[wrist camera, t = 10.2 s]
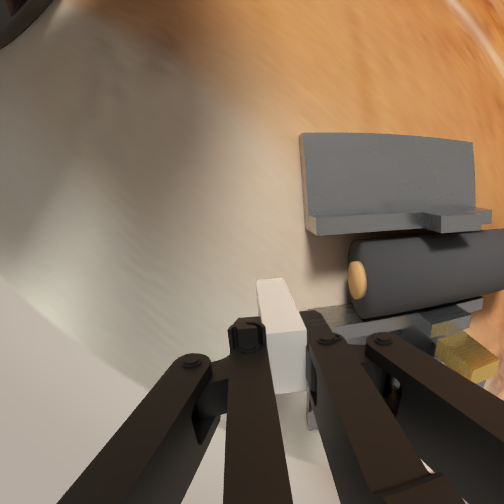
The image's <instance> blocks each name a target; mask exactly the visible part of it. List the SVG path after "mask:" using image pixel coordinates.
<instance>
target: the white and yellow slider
mask: <svg viewBox="0 0 504 504" xmlns="http://www.w3.org/2000/svg"><path fill="white" fill-rule="evenodd" d="M434 358H435V359H436V360H438V361H439V362H441V363H443V364H444V365H446V366H448V367H449V368H451V369H452V370H454V371H456V372H457V373H459V374H461V375H462V376H464V377H465V378H467V379H469V380H470V381H472V382H474V383H475V384H477V383H479V382H482V381H484V380H486V379H488V378H491V377H493V376H495V373H496V370H497V367H498V364H499V361H500V359H499V358H498V357H496V356H495V355H494V354H492V353H491V352H490V351H489V350H487V349H486V348H485V347H483V346H482V345H481V344H480V343H478V342H477V341H476V340H474V339H473V338H472V337H470V336H469V335H468V334H466V333H465V332H464V331H463V332H460V333H456V334H453V335H449V336H446V337H442V338H438V340H437V345H436V350H435V355H434Z"/></svg>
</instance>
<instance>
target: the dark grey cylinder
mask: <svg viewBox="0 0 504 504" xmlns="http://www.w3.org/2000/svg"><path fill="white" fill-rule="evenodd" d="M348 287H349V293H350V297H351V301H352V304H353V307H354V309H355V311H356V313H357V314H358V316H359V317H360V318H362V319H366V318H372V317H378V316H384V315H390V314H396V313H401V312H407V311H412V310H417V309H422V308H427V307H432V306H437V305H441V304H446V303H451V302H455V301H459V300H464V299H468V298H472V297H476V296H480V295H484V294H488V293H492V292H496V291H500V290H504V229H493V230H480V231H468V232H455V233H443V234H431V235H418V236H406V237H394V238H382V239H370V240H358V241H354V242H353V244H352V245H351V247H350V250H349V254H348Z"/></svg>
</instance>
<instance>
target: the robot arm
mask: <svg viewBox="0 0 504 504" xmlns="http://www.w3.org/2000/svg"><path fill="white" fill-rule="evenodd" d="M51 1H52V0H0V48H2V47H3V46H5V45H6V44H8V43H9V42H10V41H12V40H13V39H14V38H16V37H17V36H18V35H19V34H20V33H21V32H23V31H24V30H25V29H26V28H27V27H28V26H29V25H30V24H31V23H32V22H33V21H34V20H35V19H36V18H37V17H38V16H39V15H40V14H41V13H42V12H43V11H44V9H45V8H46V7H47V6H48V5H49V4H50V2H51ZM256 290H257V302H258V315H259V316H258V317H246V318H238V319H237V320H236V321H235V322H234V324H233V325H231V326H230V327H229V329H228V337H229V345H230V355H229V356H227V357H226V358H224V359H221V360H218V361H214V362H211V360H210V359H209V357H207V356H206V355H203V354H194V353H191V354H186V355H184V356H181V357H179V358H178V359H176V360H175V361H174V362H173V363H172V365H171V366H170V367H169V368H168V370H167V371H166V372H165V373H164V375H163V376H162V377H161V378H160V379H159V381H158V382H157V383H156V384H155V386H154V387H153V388H152V389H151V390H150V392H149V393H148V394H147V395H146V397H145V398H144V399H143V400H142V401H141V403H140V404H139V405H138V406H137V407H136V409H135V410H134V411H133V412H132V414H131V415H130V416H129V417H128V419H127V420H126V421H125V422H124V423H123V424H122V426H121V427H120V428H119V429H118V431H117V432H116V433H115V434H114V435H113V437H112V438H111V439H110V440H109V442H108V443H107V444H106V445H105V446H104V447H103V449H102V450H101V451H100V452H99V453H98V455H97V456H96V457H95V458H94V460H93V461H92V462H91V463H90V464H89V466H88V467H87V468H86V469H85V470H84V472H83V473H82V474H81V475H80V476H79V478H78V479H77V480H76V481H75V482H74V483H73V485H72V486H71V487H70V488H69V490H68V491H67V492H66V493H65V494H64V495H63V497H62V498H61V499H60V500H59V501H58V503H57V504H181V502H182V500H183V498H184V496H185V494H186V492H187V490H188V488H189V486H190V484H191V482H192V479H193V477H194V475H195V473H196V471H197V469H198V467H199V465H200V463H201V460H202V458H203V456H204V454H205V452H206V450H207V448H208V446H209V443H210V441H211V439H212V437H213V435H214V433H215V430H216V428H217V426H218V424H219V422H220V417H221V416H220V415H221V414H225V413H227V421H226V443H225V468H224V494H223V504H293V500H292V494H291V488H290V482H289V476H288V470H287V464H286V459H285V452H284V446H283V440H282V434H281V428H280V422H279V416H278V410H277V404H276V398H275V394H284V393H292V392H300V391H307V382H308V385H309V412H311V411H312V410H313V413H314V416H315V419H316V423H317V426H318V429H319V433H320V436H321V439H322V442H323V446H324V449H325V452H326V456H327V459H328V462H329V466H330V469H331V472H332V475H333V479H334V482H335V486H336V489H337V492H338V496H339V499H340V503H341V504H465V502H464V501H463V499H464V500H465V501H467V502H468V503H469V504H504V401H503V400H501V399H500V398H498V397H496V396H495V395H493V394H491V393H490V392H488V391H487V390H485V389H483V388H482V387H480V386H478V385H477V384H475V383H474V382H472V381H470V380H469V379H467V378H465V377H464V376H462V375H461V374H459V373H457V372H456V371H454V370H452V369H451V368H449V367H448V366H446V365H444V364H443V363H441V362H439V361H438V360H436V359H435V358H433V357H431V356H430V355H428V354H426V353H425V352H423V351H421V350H420V349H418V348H417V347H415V346H413V345H412V344H410V343H408V342H407V341H405V340H403V339H402V338H400V337H399V336H397V335H395V334H392V333H387V332H378V333H373V334H371V335H369V336H368V337H367V338H366V345H354V344H348V343H347V341H346V340H345V338H344V337H343V336H342V335H340V334H337V333H333V332H332V330H331V329H330V327H329V325H328V324H327V322H326V321H325V319H324V317H323V316H322V314H321V313H319V312H317V311H315V310H309V311H300V312H299V311H298V309H297V307H296V305H295V303H294V300H293V298H292V296H291V294H290V292H289V290H288V287H287V285H286V283H285V281H284V279H283V278H275V279H263V280H256ZM395 379H397V380H398V381H399V383H400V387H399V388H398V387H396V386H395V385H394V382H395ZM420 459H421V460H422V461H423V462H425V463H426V464H427V465H428V466H429V467H430V468H431V469H432V470H433V471H434V472H435V473H434V474H431V473H429V472H428V471H427V469H426V468H425V466H424V465H423V463H422V461H421V460H420ZM461 497H462V498H463V499H462V498H461Z"/></svg>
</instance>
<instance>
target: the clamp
mask: <svg viewBox="0 0 504 504" xmlns="http://www.w3.org/2000/svg"><path fill="white" fill-rule="evenodd" d="M299 145H300V157H301V170H302V183H303V199H304V215H305V228H306V229H307V230H309V231H310V232H312V233H313V234H315V235H316V236H323V235H336V234H349V233H362V232H376V231H389V230H403V229H417V228H425V229H428V230H432V231H435V232H438V233H451V232H463V231H476V230H481V224H491V216H492V210H488V209H483V208H477V207H475V170H474V155H473V143H472V142H465V141H458V140H450V139H441V138H431V137H421V136H408V135H393V134H373V133H302V134H300V135H299ZM483 300H484V298H483V297H482V296H476V297H472V298H468V299H464V300H459V301H455V302H451V303H446V304H441V305H437V306H432V307H427V308H422V309H417V310H412V311H407V312H401V313H396V314H390V315H384V316H378V317H372V318H366V319H362V318H360V317H359V316H358V314H357V313H356V311H355V309H354V307H353V304H347V305H339V306H331V307H323V308H315V309H308V311H309V310H315V311H317V312H319V313H321V314H322V316H323V317H324V319H325V321H326V322H327V324H328V325H329V327H330V329H331V330H332V332H333V333H337V334H340V335H342V336H343V337H344V338H345V340H346V341H347V343H348V344H354V345H366V338H367V337H368V336H369V335H371V334H373V333H378V332H387V333H392V334H395V335H397V336H399V337H400V338H402V339H403V340H405V341H407V342H408V343H410V344H412V345H413V346H415V347H417V348H418V349H420V350H421V351H423V352H425V353H426V354H428V355H430V356H431V357H433V358H434V355H435V350H436V345H437V340H438V338H442V337H446V336H449V335H453V334H456V333H460V332H462V331H463V329H466V328H469V325H470V320H471V314H470V313H471V312H475V311H478V310H482V306H483ZM485 382H486V380H484V381H482V382H479V383H477V385H478V386H480V387H482V388H483V387H484V384H485ZM394 385H395V386H396V387H398V388H399V387H400V383H399V381H398V380H397V379H395V382H394ZM307 423H308V427H309V430H313V429H318V426H317V423H316V419H315V416H314V413H313V410H312V411H311V412H309V385H308V404H307Z"/></svg>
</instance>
